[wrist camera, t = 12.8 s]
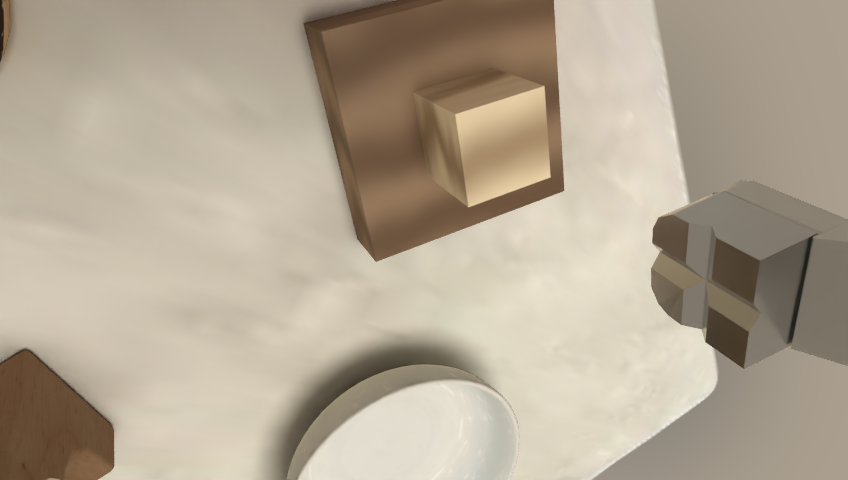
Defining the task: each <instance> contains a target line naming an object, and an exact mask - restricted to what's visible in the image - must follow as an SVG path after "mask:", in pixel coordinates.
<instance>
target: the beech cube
mask: <svg viewBox="0 0 848 480" xmlns="http://www.w3.org/2000/svg"><path fill="white" fill-rule="evenodd" d="M413 95H414V101H415V106H416V112H417V118H418V124H419V129H420V135H421V141H422V146H423V152H424V158H425V164H426V169H427V175H428V177H429V178H430V179H432V180H433V181H434V182H436V183H437V184H438V185H440V186H441V187H442V188H444V189H445V190H446V191H448V192H449V193H450V194H452V195H453V196H454V197H455V198H457V199H458V200H459V201H461V202H462V203H463V204H465V205H466V206H467V207H471V206H474V205H477V204H479V203H482V202H485V201H487V200H490V199H493V198H496V197H498V196H501V195H504V194H506V193H509V192H512V191H515V190H517V189H520V188H523V187H526V186H528V185H531V184H534V183H536V182H539V181H542V180H545V179H547V178H550V177H551V175H550V160H549V146H548V131H547V116H546V101H545V86H543V85H540V84H537V83H534V82H532V81H529V80H526V79H523V78H520V77H517V76H514V75H512V74H509V73H506V72H503V71H500V70H497V69H494V68H493V69H489V70H486V71H483V72H479V73H476V74H473V75H469V76H466V77H463V78H459V79H456V80H453V81H449V82H446V83H442V84H439V85H436V86H432V87H429V88H426V89H422V90H419V91H416V92H413Z"/></svg>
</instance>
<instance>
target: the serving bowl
mask: <svg viewBox="0 0 848 480" xmlns="http://www.w3.org/2000/svg"><path fill="white" fill-rule="evenodd" d="M518 452H519V427H518V422H517V419H516V416H515V414H514V411H513V410H512V408H511V406H510V405H509V403H508V402H507V401H506V399H505V398H504V397H503V396H502V395H501V394H500V393H499V392H497V391H496V390H495V389H494V388H492V387H491V386H490V385H488V384H487V383H485V382H484V381H483V380H481V379H479V378H478V377H476V376H474V375H472V374H470V373H467V372H465V371H463V370H460V369H456V368H453V367H448V366H443V365H431V364H421V365H410V366H404V367H399V368H394V369H390V370H387V371H384V372H381V373H379V374H376V375H374V376H372V377H369V378H367V379H365V380H363V381H361V382H360V383H358V384H356V385H355V386H353V387H351V388H350V389H348V390H347V391H346V392H344V393H343V394H341V395H340V396H339V397H338V398H336V399H335V400H334V401H333V402H332V403H331V404H330V405H329V406H328V407H326V408H325V409H324V410H323V411H322V413H321V414H320V415H319V416H318V417H317V418H316V420H315V421H314V422H313V423H312V424H311V426H310V427H309V429H308V430H307V432H306V433H305V435H304V436H303V438H302V440H301V442H300V443H299V445H298V447H297V449H296V451H295V454H294V456H293V458H292V461H291V464H290V467H289V470H288V475H287V479H286V480H510V479H511V477H512V474H513V472H514V469H515V465H516V462H517V458H518Z"/></svg>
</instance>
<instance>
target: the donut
mask: <svg viewBox="0 0 848 480" xmlns="http://www.w3.org/2000/svg"><path fill="white" fill-rule="evenodd" d="M9 32H10V15H9V0H0V61H1V58H2V56H3V55H4V52H5V48H6V44H7V40H8V36H9Z"/></svg>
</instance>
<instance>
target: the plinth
mask: <svg viewBox="0 0 848 480" xmlns="http://www.w3.org/2000/svg"><path fill="white" fill-rule="evenodd" d="M304 26H305V30H306V34H307V38H308V42H309V46H310V50H311V54H312V58H313V62H314V66H315V70H316V74H317V78H318V82H319V86H320V90H321V94H322V98H323V102H324V106H325V110H326V114H327V118H328V122H329V126H330V130H331V134H332V138H333V142H334V146H335V150H336V154H337V158H338V162H339V166H340V170H341V174H342V178H343V182H344V186H345V190H346V194H347V198H348V202H349V206H350V210H351V214H352V218H353V222H354V226H355V231H356V235H357V239H358V240H359V241H360V243H361V244H362V245H363V246H364V248H365V249H366V250H367V251H368V252H369V254H370V255H371V256H372V257H373V259H374V260H375V261H376V262H377V261H379V260H382V259H385V258H387V257H390V256H393V255H395V254H398V253H400V252H403V251H406V250H408V249H411V248H414V247H416V246H419V245H422V244H424V243H427V242H430V241H432V240H435V239H438V238H440V237H443V236H446V235H448V234H451V233H454V232H456V231H459V230H462V229H464V228H467V227H470V226H472V225H475V224H477V223H480V222H483V221H485V220H488V219H491V218H493V217H496V216H499V215H501V214H504V213H507V212H509V211H512V210H515V209H517V208H520V207H523V206H525V205H528V204H531V203H533V202H536V201H539V200H541V199H544V198H546V197H549V196H552V195H554V194H557V193H560V192H562V191H564V177H563V159H562V141H561V124H560V106H559V88H558V70H557V52H556V34H555V16H554V0H397V1H393V2H389V3H385V4H381V5H377V6H373V7H369V8H365V9H361V10H357V11H353V12H349V13H345V14H341V15H337V16H333V17H329V18H325V19H321V20H317V21H313V22H309V23H305V24H304ZM493 68H494V69H497V70H500V71H503V72H506V73H509V74H512V75H514V76H517V77H520V78H523V79H526V80H529V81H532V82H534V83H537V84H540V85H543V86H545V101H546V116H547V131H548V146H549V160H550V175H551V177H550V178H547V179H545V180H542V181H539V182H536V183H534V184H531V185H528V186H526V187H523V188H520V189H517V190H515V191H512V192H509V193H506V194H504V195H501V196H498V197H496V198H493V199H490V200H487V201H485V202H482V203H479V204H477V205H474V206H471V207H467V206H466V205H465V204H463V203H462V202H461V201H459V200H458V199H457V198H455V197H454V196H453V195H452V194H450V193H449V192H448V191H446V190H445V189H444V188H442V187H441V186H440V185H438V184H437V183H436V182H434V181H433V180H432V179H430V178H429V177H428V175H427V169H426V164H425V158H424V152H423V146H422V141H421V135H420V129H419V124H418V118H417V112H416V106H415V101H414V95H413V92H416V91H419V90H422V89H426V88H429V87H432V86H436V85H439V84H442V83H446V82H449V81H453V80H456V79H459V78H463V77H466V76H469V75H473V74H476V73H479V72H483V71H486V70H489V69H493Z"/></svg>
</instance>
